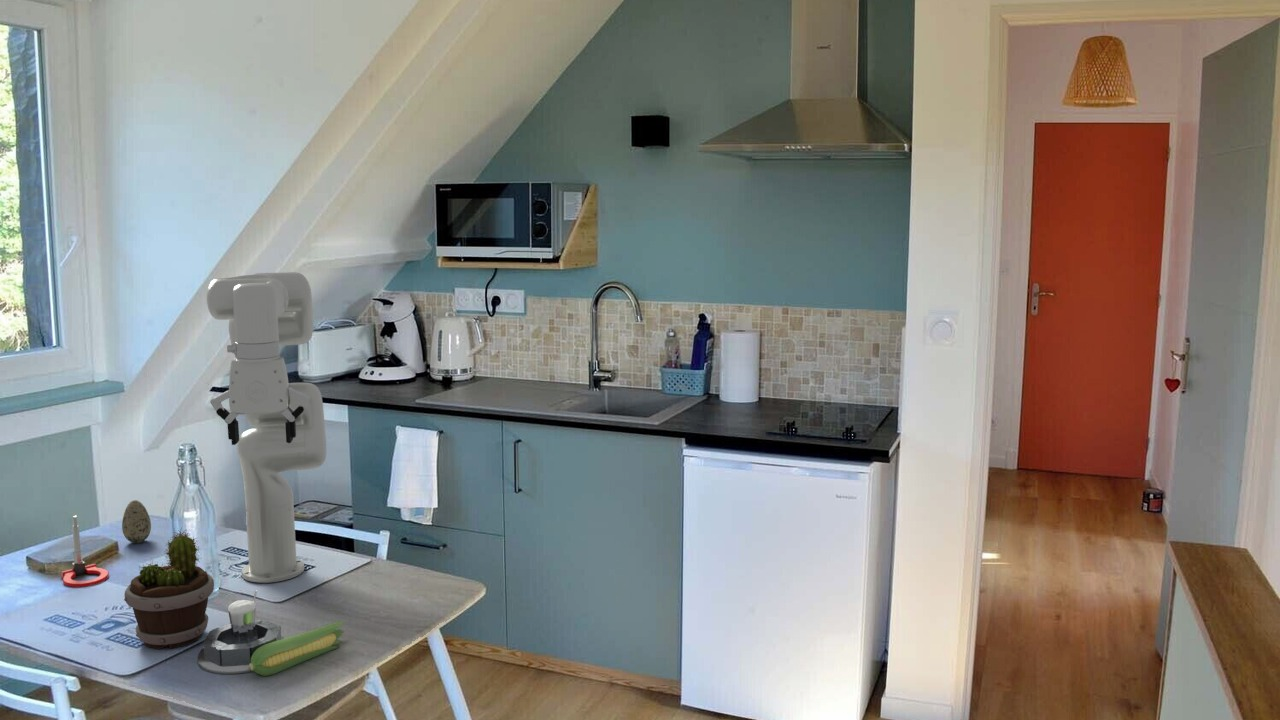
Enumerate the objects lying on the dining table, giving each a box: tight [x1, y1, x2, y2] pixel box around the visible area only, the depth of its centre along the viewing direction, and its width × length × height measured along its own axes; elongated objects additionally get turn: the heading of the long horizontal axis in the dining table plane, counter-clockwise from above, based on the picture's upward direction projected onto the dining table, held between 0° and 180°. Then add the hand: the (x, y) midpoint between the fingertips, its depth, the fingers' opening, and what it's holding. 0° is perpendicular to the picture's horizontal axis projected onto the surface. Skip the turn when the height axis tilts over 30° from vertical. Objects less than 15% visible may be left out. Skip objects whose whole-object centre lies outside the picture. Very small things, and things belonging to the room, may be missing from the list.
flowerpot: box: [123, 527, 215, 650], centre depth 190 cm, size 14×15×20 cm
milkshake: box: [227, 590, 258, 644], centre depth 184 cm, size 4×5×10 cm
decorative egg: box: [121, 499, 152, 544], centre depth 241 cm, size 6×6×10 cm
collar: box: [197, 619, 285, 675], centre depth 185 cm, size 15×15×4 cm
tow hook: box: [60, 515, 110, 588], centre depth 218 cm, size 8×13×9 cm
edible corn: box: [249, 621, 345, 677], centre depth 183 cm, size 5×20×5 cm
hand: (262, 442), depth 195 cm, fingers open, 9 cm apart
